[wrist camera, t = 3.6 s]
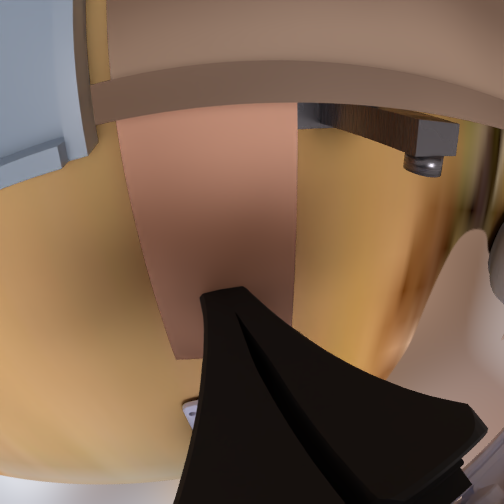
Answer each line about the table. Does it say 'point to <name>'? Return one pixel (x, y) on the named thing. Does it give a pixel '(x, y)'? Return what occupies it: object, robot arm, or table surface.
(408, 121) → the lever stand
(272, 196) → the lever
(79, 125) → the bin
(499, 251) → the teacup
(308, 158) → the table surface
